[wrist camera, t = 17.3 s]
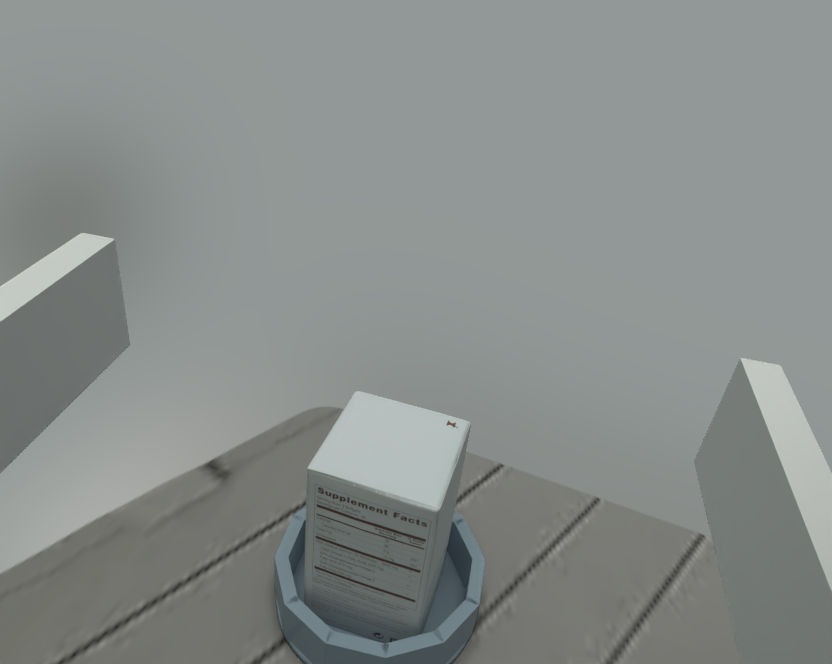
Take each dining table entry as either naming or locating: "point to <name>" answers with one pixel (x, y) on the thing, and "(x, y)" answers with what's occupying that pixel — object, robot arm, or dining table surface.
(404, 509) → the supplement box
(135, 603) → the dining table surface
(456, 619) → the bowl
